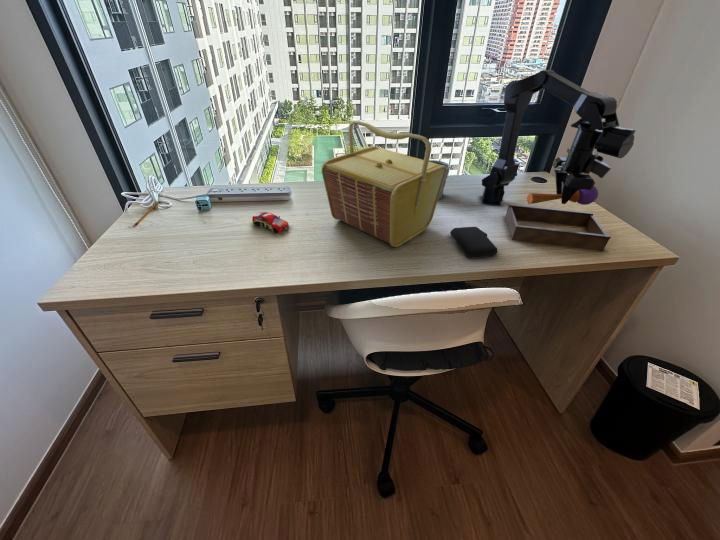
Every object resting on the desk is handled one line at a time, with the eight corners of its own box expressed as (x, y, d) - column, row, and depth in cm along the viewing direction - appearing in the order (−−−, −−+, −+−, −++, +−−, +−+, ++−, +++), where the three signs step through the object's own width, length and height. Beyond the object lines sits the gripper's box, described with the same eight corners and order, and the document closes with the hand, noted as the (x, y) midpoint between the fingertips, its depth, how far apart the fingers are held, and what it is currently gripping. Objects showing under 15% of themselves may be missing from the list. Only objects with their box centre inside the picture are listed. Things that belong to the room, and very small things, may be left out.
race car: (292, 229, 105) (291, 218, 102) (280, 236, 101) (279, 225, 99) (263, 218, 110) (261, 207, 108) (250, 224, 107) (248, 213, 104)
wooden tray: (511, 240, 101) (516, 226, 98) (504, 217, 114) (508, 203, 111) (603, 251, 97) (611, 237, 94) (586, 226, 109) (592, 212, 106)
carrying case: (502, 258, 93) (479, 232, 105) (505, 249, 91) (481, 223, 103) (466, 261, 92) (447, 234, 103) (469, 252, 90) (449, 225, 102)
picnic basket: (440, 226, 108) (458, 129, 90) (391, 258, 92) (400, 149, 74) (373, 199, 123) (377, 112, 106) (321, 223, 108) (315, 125, 90)
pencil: (135, 227, 104) (134, 225, 104) (133, 227, 104) (132, 225, 104) (160, 202, 120) (159, 200, 119) (158, 202, 119) (157, 199, 119)
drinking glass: (412, 192, 129) (416, 162, 122) (433, 188, 133) (438, 158, 126) (428, 202, 122) (433, 171, 115) (450, 197, 126) (456, 166, 119)
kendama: (526, 186, 101) (591, 181, 101) (523, 205, 104) (587, 201, 104) (536, 191, 96) (605, 186, 96) (533, 211, 98) (599, 206, 98)
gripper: (629, 161, 82) (600, 217, 92) (602, 140, 97) (580, 190, 106) (580, 157, 84) (557, 212, 94) (562, 137, 99) (543, 186, 108)
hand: (560, 199), depth 100 cm, fingers closed on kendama, 5 cm apart
